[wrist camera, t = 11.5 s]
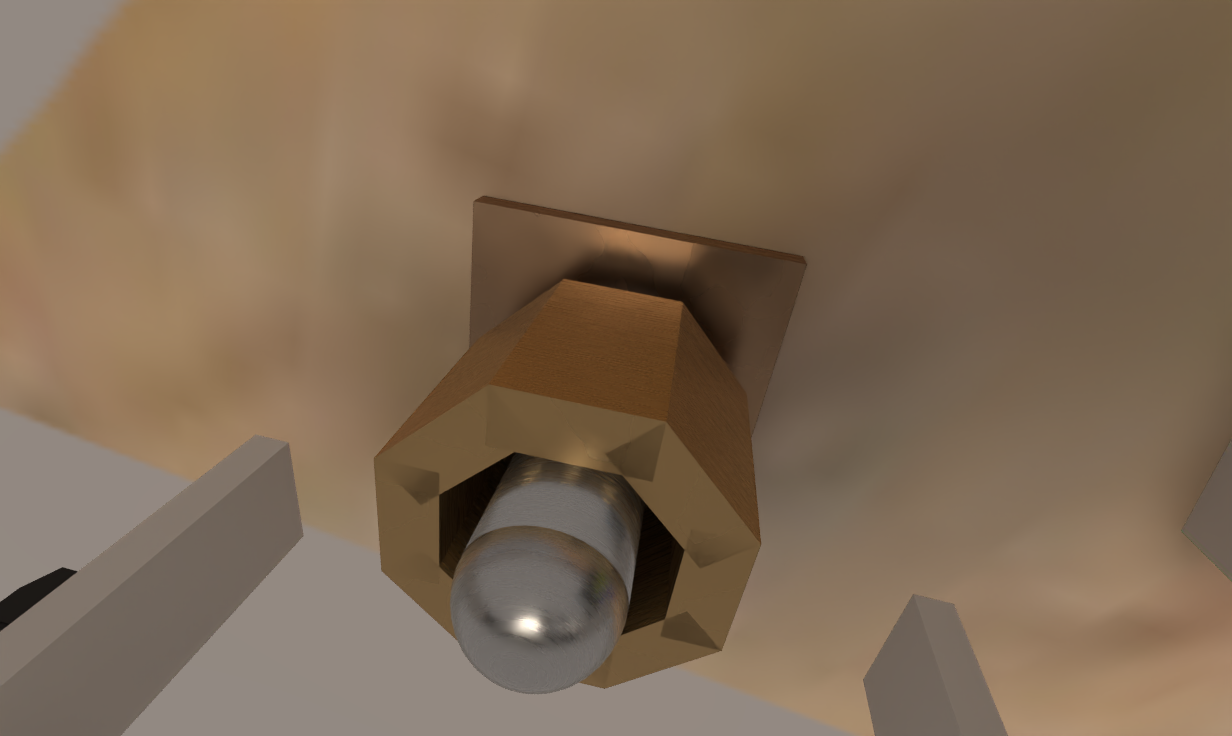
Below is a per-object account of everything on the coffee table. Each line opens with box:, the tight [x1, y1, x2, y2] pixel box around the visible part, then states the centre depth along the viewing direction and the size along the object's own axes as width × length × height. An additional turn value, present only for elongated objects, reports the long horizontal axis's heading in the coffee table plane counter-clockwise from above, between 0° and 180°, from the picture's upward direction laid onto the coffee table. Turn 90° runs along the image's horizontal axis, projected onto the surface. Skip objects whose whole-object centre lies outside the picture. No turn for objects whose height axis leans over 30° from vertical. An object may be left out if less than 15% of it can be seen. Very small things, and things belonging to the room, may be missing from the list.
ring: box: [374, 279, 761, 689], centre depth 15 cm, size 8×8×6 cm
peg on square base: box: [450, 196, 807, 694], centre depth 15 cm, size 10×10×12 cm
